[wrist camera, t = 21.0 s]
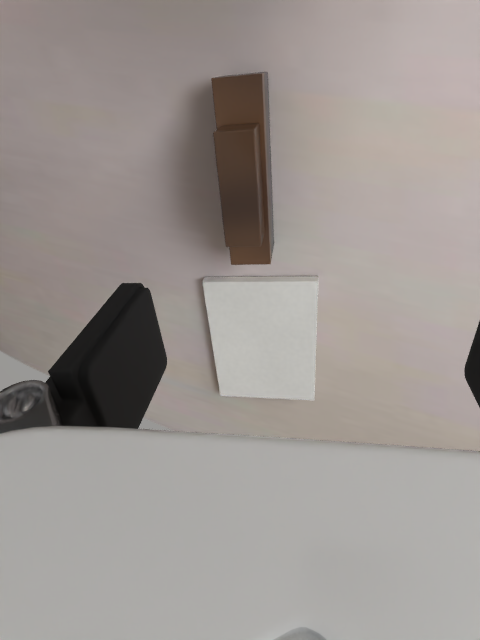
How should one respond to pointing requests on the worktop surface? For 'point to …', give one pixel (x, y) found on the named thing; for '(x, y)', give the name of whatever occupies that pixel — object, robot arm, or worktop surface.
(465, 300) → the worktop surface
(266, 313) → the tile
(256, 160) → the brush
